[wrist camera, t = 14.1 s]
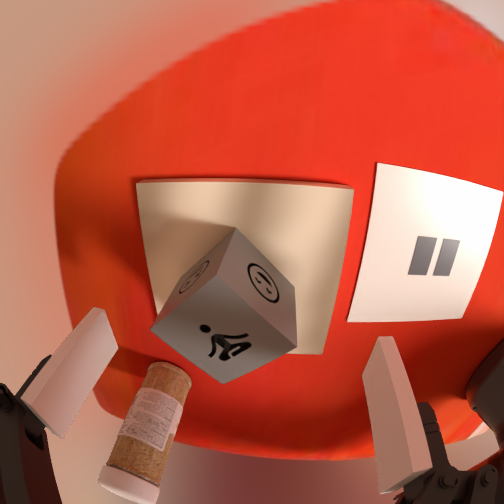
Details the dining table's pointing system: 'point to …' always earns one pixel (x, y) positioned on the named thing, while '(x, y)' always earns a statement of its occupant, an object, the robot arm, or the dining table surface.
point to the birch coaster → (252, 236)
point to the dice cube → (230, 311)
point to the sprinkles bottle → (147, 435)
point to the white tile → (423, 246)
